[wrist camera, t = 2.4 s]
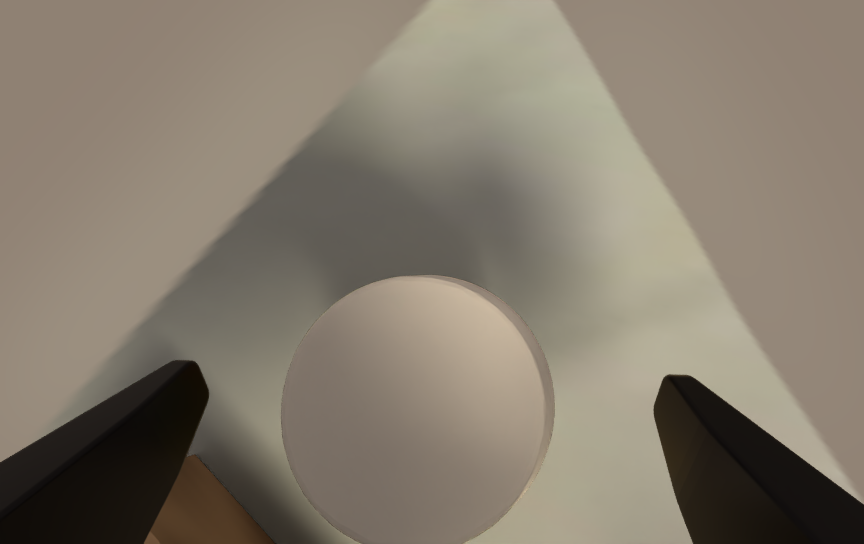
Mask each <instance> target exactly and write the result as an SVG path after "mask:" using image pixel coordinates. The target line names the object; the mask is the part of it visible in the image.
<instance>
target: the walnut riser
mask: <svg viewBox="0 0 864 544" xmlns="http://www.w3.org/2000/svg"><path fill="white" fill-rule="evenodd" d="M144 544H275V543H274V542H273V541H272V540H271V539H270V537H269V536H268V535H267V534H266V533H265V532H264V531H263V530H262V529H261V527H260V526H259V525H258V524H257V523H256V522H255V521H254V520H253V519H252V517H251V516H250V515H249V514H248V513H247V512H246V511H245V510H244V509H243V507H242V506H241V505H240V504H239V503H238V502H237V501H236V500H235V499H234V497H233V496H232V495H231V494H230V493H229V492H228V491H227V490H226V489H225V487H224V486H223V485H222V484H221V483H220V482H219V481H218V480H217V479H216V477H215V476H214V475H213V474H212V473H211V472H210V471H209V470H208V469H207V467H206V466H205V465H204V464H203V463H202V462H201V461H200V460H199V459H198V457H197V456H196V455H192V456H188V457H186V459H185V461H184V464H183V466H182V468H181V470H180V473H179V475H178V477H177V479H176V481H175V483H174V485H173V487H172V489H171V491H170V493H169V495H168V497H167V499H166V501H165V503H164V505H163V507H162V509H161V511H160V513H159V515H158V517H157V519H156V521H155V523H154V525H153V527H152V529H151V531H150V533H149V534H148V536H147V538H146V540H145V542H144Z"/></svg>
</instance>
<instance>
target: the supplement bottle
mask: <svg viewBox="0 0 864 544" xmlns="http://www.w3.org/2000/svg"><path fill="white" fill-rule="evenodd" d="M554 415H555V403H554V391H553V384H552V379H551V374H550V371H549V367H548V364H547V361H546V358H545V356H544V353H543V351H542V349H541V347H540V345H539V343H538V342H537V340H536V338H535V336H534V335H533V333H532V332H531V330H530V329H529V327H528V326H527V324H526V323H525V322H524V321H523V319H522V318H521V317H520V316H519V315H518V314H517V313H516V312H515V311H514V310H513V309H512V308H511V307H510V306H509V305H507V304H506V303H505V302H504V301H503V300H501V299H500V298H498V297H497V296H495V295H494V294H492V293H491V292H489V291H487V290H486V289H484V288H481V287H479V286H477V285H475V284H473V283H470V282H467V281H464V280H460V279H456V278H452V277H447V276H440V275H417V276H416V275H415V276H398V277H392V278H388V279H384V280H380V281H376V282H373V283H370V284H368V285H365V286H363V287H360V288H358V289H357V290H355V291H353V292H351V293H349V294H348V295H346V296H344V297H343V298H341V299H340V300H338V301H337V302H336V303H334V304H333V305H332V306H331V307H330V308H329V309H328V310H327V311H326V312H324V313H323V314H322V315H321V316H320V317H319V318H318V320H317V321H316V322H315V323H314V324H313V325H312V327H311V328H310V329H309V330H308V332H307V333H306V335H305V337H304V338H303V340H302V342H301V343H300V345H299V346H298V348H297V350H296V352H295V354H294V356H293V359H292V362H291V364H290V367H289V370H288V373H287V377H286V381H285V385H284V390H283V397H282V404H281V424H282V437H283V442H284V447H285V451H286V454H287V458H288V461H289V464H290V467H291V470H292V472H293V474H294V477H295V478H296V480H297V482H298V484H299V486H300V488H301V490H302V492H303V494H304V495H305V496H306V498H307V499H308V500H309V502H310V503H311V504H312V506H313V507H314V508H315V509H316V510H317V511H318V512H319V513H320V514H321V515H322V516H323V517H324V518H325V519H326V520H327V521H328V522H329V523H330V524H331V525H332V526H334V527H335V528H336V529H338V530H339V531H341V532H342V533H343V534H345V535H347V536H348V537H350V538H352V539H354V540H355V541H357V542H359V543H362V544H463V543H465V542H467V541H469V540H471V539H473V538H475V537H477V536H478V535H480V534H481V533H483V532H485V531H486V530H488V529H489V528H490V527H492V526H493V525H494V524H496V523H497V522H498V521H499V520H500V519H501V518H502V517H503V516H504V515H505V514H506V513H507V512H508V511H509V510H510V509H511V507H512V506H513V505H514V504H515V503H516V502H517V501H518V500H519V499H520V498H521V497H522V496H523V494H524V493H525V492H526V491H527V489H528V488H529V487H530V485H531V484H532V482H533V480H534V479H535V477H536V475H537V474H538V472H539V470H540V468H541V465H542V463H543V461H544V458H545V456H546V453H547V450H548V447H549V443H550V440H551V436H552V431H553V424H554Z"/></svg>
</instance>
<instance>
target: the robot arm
mask: <svg viewBox="0 0 864 544" xmlns="http://www.w3.org/2000/svg"><path fill="white" fill-rule="evenodd" d="M208 399H209V390H208V387H207V384H206V382H205V380H204V377H203V375H202V372H201V370H200V368H199V366H198V364H197V363H196V362H195V361H189V360H175V361H171V362H170V363H168V364H166V365H164V366H163V367H161V368H159V369H158V370H156V371H154V372H153V373H151V374H149V375H147V376H146V377H144V378H142V379H141V380H139V381H137V382H136V383H134V384H132V385H131V386H129V387H127V388H125V389H124V390H122V391H120V392H119V393H117V394H115V395H114V396H112V397H110V398H109V399H107V400H105V401H103V402H102V403H100V404H98V405H97V406H95V407H93V408H92V409H90V410H88V411H87V412H85V413H83V414H81V415H80V416H78V417H76V418H75V419H73V420H71V421H70V422H68V423H66V424H64V425H63V426H61V427H59V428H58V429H56V430H54V431H53V432H51V433H49V434H48V435H46V436H44V437H42V438H41V439H39V440H37V441H36V442H34V443H32V444H31V445H29V446H27V447H26V448H24V449H22V450H20V451H19V452H17V453H15V454H14V455H12V456H10V457H9V458H7V459H5V460H4V461H2V462H0V544H144V542H145V540H146V538H147V536H148V534H149V533H150V531H151V529H152V527H153V525H154V523H155V521H156V519H157V517H158V515H159V513H160V511H161V509H162V507H163V505H164V503H165V501H166V499H167V497H168V495H169V493H170V491H171V489H172V487H173V485H174V483H175V481H176V479H177V477H178V475H179V473H180V470H181V468H182V466H183V464H184V461H185V459H186V456H187V453H188V451H189V448H190V446H191V443H192V441H193V438H194V436H195V433H196V431H197V428H198V426H199V423H200V420H201V418H202V415H203V413H204V410H205V408H206V405H207V403H208ZM654 418H655V422H656V426H657V430H658V434H659V437H660V441H661V445H662V448H663V452H664V456H665V460H666V463H667V467H668V471H669V475H670V478H671V482H672V486H673V489H674V493H675V496H676V499H677V502H678V505H679V508H680V511H681V513H682V516H683V519H684V521H685V524H686V526H687V529H688V532H689V534H690V537H691V539H692V542H693V544H864V504H862V503H861V502H860V501H858V500H857V499H856V498H854V497H853V496H852V495H850V494H849V493H848V492H846V491H845V490H844V489H842V488H841V487H840V486H838V485H837V484H836V483H834V482H833V481H831V480H830V479H829V478H827V477H826V476H825V475H823V474H822V473H821V472H819V471H818V470H817V469H815V468H814V467H813V466H811V465H810V464H809V463H807V462H806V461H805V460H803V459H802V458H801V457H799V456H798V455H797V454H795V453H794V452H793V451H791V450H790V449H789V448H787V447H786V446H785V445H783V444H782V443H781V442H779V441H778V440H777V439H775V438H774V437H773V436H771V435H770V434H769V433H767V432H766V431H765V430H763V429H762V428H761V427H759V426H758V425H757V424H755V423H754V422H753V421H751V420H750V419H749V418H747V417H746V416H744V415H743V414H742V413H740V412H739V411H738V410H736V409H735V408H734V407H732V406H731V405H730V404H728V403H727V402H726V401H724V400H723V399H722V398H720V397H719V396H718V395H716V394H715V393H714V392H712V391H711V390H710V389H708V388H707V387H706V386H704V385H703V384H702V383H700V382H699V381H698V380H696V379H695V378H693V377H692V376H689V375H672V374H670V375H666V376H665V377H664V378H663V380H662V383H661V386H660V389H659V392H658V395H657V398H656V401H655V404H654Z"/></svg>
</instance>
